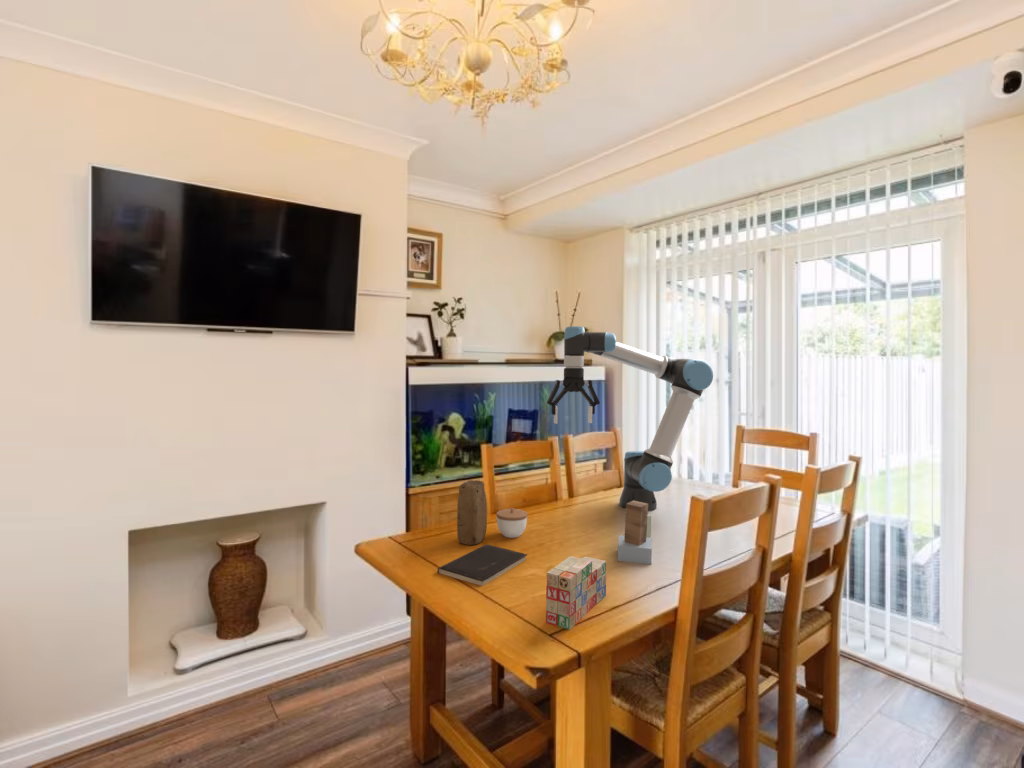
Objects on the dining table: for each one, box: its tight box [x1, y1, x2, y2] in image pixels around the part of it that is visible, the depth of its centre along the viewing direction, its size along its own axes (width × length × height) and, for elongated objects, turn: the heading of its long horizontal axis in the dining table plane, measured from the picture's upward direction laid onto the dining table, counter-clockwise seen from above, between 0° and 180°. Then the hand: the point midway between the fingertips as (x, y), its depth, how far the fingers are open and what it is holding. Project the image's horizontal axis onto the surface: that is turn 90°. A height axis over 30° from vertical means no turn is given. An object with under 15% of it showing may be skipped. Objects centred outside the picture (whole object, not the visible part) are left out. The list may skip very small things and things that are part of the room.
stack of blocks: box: [545, 555, 607, 631], centre depth 132 cm, size 21×6×12 cm, turn 147°
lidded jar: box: [495, 507, 528, 539], centre depth 185 cm, size 11×11×9 cm
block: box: [456, 479, 488, 546], centre depth 179 cm, size 11×8×20 cm
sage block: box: [646, 514, 652, 538], centre depth 180 cm, size 5×5×9 cm
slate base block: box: [617, 534, 653, 565], centre depth 166 cm, size 10×10×5 cm
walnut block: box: [624, 500, 649, 546], centre depth 166 cm, size 5×5×12 cm
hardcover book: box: [437, 543, 528, 587], centre depth 158 cm, size 16×23×2 cm
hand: (572, 423), depth 204 cm, fingers open, 13 cm apart
